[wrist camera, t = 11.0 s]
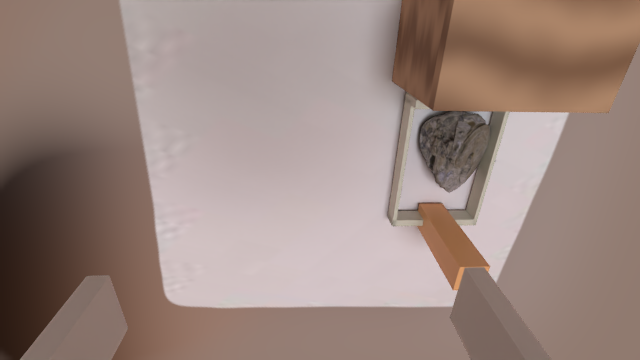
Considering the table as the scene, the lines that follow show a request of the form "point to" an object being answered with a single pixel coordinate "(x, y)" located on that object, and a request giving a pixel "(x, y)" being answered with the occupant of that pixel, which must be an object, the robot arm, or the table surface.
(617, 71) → the tunnel
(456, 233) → the sled
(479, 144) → the fossilized seashell
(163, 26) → the table surface
